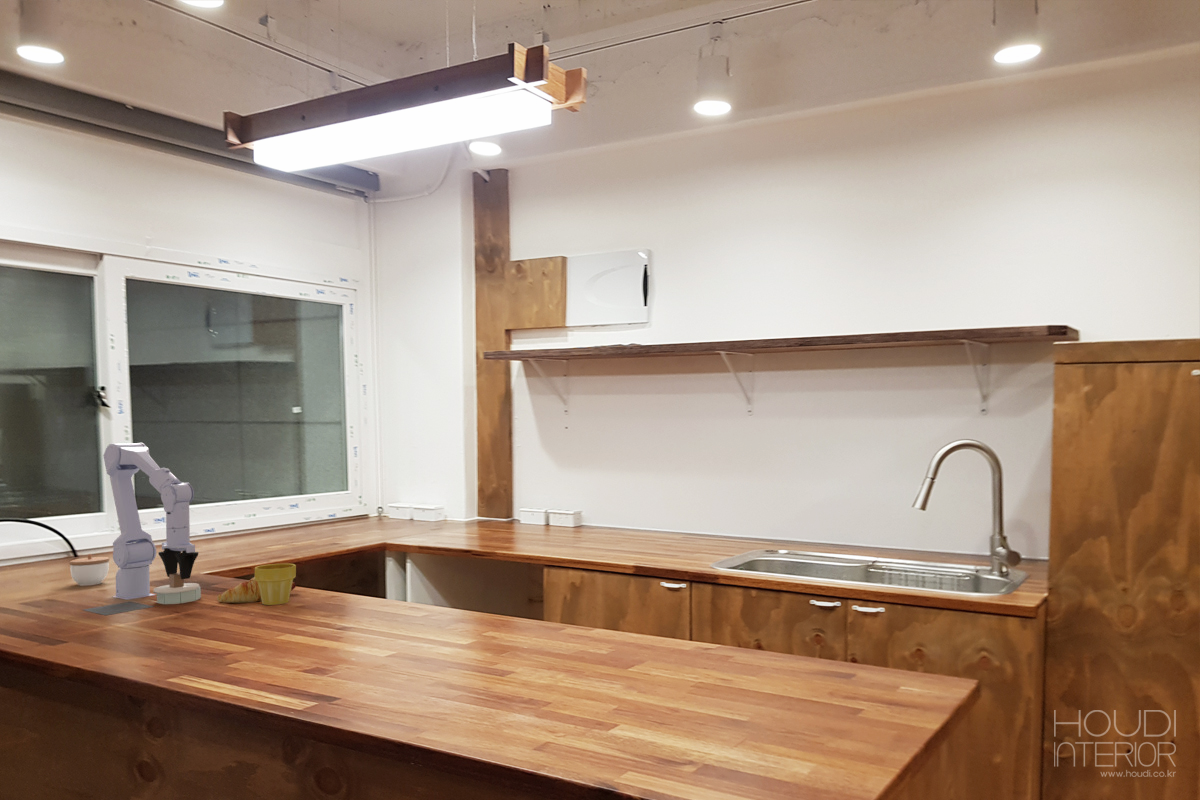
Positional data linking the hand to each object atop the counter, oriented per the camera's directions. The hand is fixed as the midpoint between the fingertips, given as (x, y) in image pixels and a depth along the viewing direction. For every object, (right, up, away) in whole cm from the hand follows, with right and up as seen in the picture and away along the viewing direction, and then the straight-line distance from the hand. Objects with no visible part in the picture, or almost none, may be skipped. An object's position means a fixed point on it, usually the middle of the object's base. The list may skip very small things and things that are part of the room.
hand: (178, 577), depth 232 cm
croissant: (+21, -7, +1) cm, 22 cm away
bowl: (0, -7, 0) cm, 7 cm away
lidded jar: (-46, -10, +36) cm, 59 cm away
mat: (-11, -7, -9) cm, 16 cm away
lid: (0, -3, -1) cm, 3 cm away
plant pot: (+29, -6, -6) cm, 30 cm away
